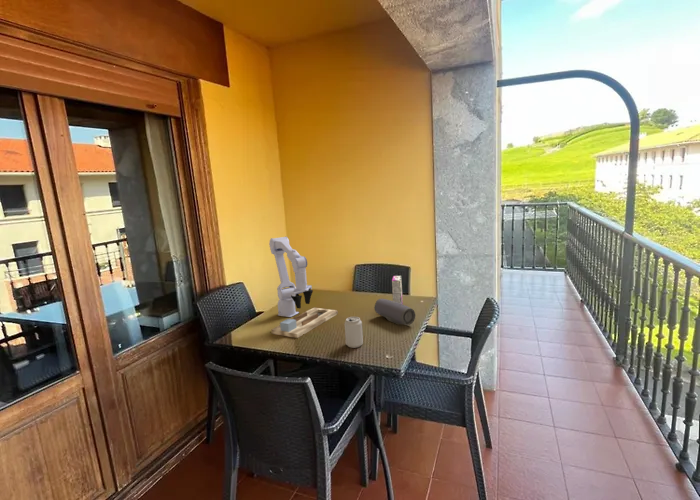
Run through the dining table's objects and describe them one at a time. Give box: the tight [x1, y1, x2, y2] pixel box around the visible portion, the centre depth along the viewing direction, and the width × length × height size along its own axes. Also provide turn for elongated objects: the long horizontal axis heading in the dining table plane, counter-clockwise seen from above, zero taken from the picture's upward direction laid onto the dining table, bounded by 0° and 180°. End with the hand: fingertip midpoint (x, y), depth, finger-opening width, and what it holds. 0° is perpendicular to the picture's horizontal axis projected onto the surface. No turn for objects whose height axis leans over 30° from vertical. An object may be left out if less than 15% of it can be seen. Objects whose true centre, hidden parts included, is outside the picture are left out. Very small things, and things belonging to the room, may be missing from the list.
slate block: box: [279, 318, 297, 332], centre depth 176 cm, size 5×6×4 cm
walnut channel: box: [292, 311, 318, 326], centre depth 187 cm, size 8×13×2 cm, turn 150°
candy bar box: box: [391, 275, 404, 305], centre depth 207 cm, size 11×5×16 cm, turn 168°
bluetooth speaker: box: [373, 298, 416, 326], centre depth 183 cm, size 23×9×10 cm, turn 32°
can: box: [344, 316, 364, 349], centre depth 157 cm, size 8×8×12 cm
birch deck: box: [270, 307, 339, 339], centre depth 189 cm, size 16×36×2 cm, turn 150°
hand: (303, 305), depth 188 cm, fingers open, 7 cm apart
